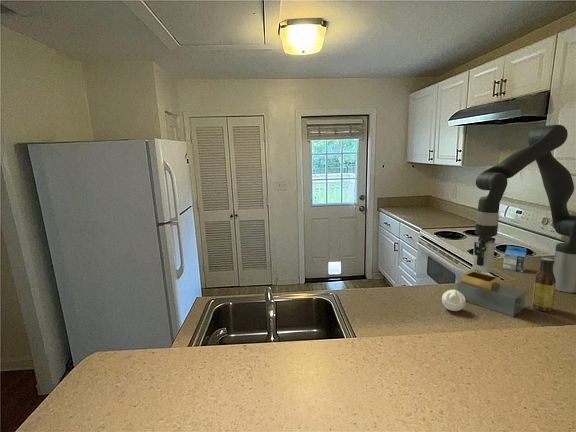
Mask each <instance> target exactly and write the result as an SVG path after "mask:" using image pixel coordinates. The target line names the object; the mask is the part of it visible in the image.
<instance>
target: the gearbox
mask: <svg viewBox="0 0 576 432" xmlns="http://www.w3.org/2000/svg"><path fill="white" fill-rule="evenodd" d="M501 281H502V278H501V277H498V276H494V275H491V274H488V273H484V272H480V271H479V272H478V271H477V270H475V271H474V270H469V271H467V272H465V273H463V274H462V275H461V280H460V281H458V283H457V291H459V292H460V293H462V294H463V296H464V297H465V302H467V303H470V304H472V305H473V304H474V305H476V306H480V307H482V308H485V309H488V310H490V311H491V310H492V311H494V312H497V313H500V314H503V315H506V316H509V317H514V316H516V315H517V314H518V313H520V312H521V311H522V310H524V309H525V308H526V301H527V299H526V298H527V290H524V289H522V288H518V287H514V286H510V285H506V284H503V283H501Z"/></svg>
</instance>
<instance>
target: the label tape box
mask: <svg viewBox="0 0 576 432" xmlns="http://www.w3.org/2000/svg"><path fill="white" fill-rule="evenodd" d="M526 258H527V247H526V248H525V247H520V246H519V247H518V246H512V245H506V249H505V251H504V254H503V264H502V269H504V270H510V271H512V272H513V271H514V272H519V273H524V271H525V265H526Z"/></svg>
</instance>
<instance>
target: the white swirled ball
mask: <svg viewBox="0 0 576 432" xmlns="http://www.w3.org/2000/svg"><path fill="white" fill-rule="evenodd" d="M441 302H442V305H443V306H444V307H445V308H446V309H447V310H449V311H453V312H458V311H461V310H462V309H464V308H465V306H466V301H465V297H464V296H463V294H462V293H460V292H459V291H458V290H456V289H448V290H446V291H445V292H444V293H443V294H442V296H441Z"/></svg>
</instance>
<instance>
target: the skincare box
mask: <svg viewBox="0 0 576 432" xmlns="http://www.w3.org/2000/svg"><path fill="white" fill-rule="evenodd" d="M475 241H476V242H477V241H478V239H477V240H474V242H475ZM474 242H473V243H474ZM495 244H496V243H492V242H490V243H485V246H486V247H487V248H486V252H485V255H484V263H483V266H479V265H477V256H476V255H475V252H474V251H473V255H472V269H473V270H475V271H477V272H478V271H479V272H481V273H484V274H488V273H492V272H493V271H494V261H495V259H494V257H495ZM482 249H485V247H484V248H482ZM482 252H483V251H482ZM479 253H480V252H479Z"/></svg>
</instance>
